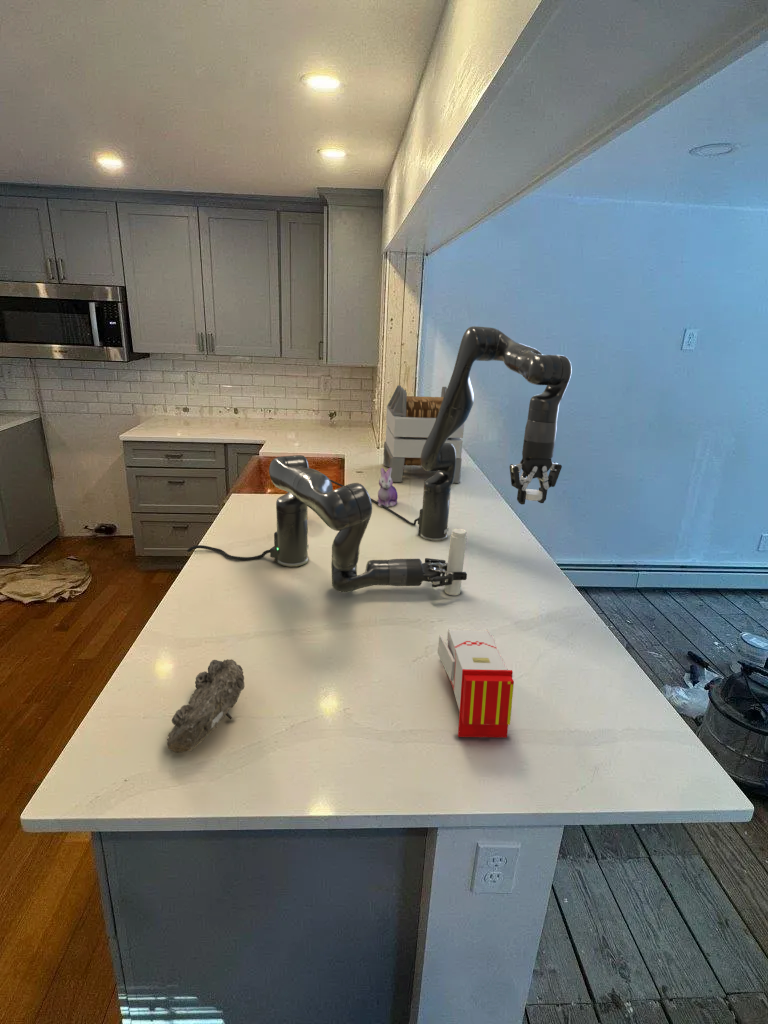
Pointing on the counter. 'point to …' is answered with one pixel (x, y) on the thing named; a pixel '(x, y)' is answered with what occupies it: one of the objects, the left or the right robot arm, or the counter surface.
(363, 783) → the counter surface
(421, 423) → the grey wooden box
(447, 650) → the toy
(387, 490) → the figurine
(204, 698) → the fossil
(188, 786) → the counter surface
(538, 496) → the lid
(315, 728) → the counter surface
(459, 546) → the white cylindrical bottle
